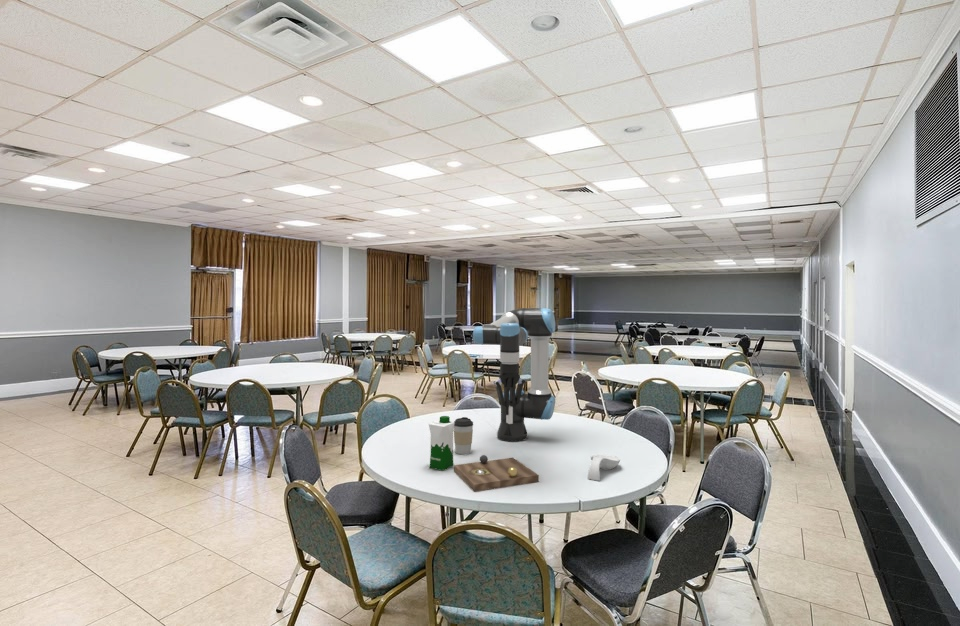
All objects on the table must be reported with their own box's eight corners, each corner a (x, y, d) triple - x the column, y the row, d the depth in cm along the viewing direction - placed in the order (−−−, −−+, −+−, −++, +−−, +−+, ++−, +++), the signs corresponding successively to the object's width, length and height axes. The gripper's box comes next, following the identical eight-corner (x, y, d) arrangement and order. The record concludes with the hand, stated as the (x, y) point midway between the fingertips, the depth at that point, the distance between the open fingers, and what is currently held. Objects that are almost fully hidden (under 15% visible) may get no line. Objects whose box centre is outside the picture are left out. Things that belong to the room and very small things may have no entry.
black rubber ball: (485, 461, 195) (485, 453, 195) (488, 463, 192) (489, 455, 192) (478, 462, 194) (478, 454, 194) (481, 464, 191) (481, 456, 191)
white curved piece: (594, 460, 205) (594, 444, 205) (622, 465, 199) (622, 448, 199) (579, 478, 184) (579, 460, 184) (609, 484, 178) (610, 465, 178)
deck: (512, 463, 200) (512, 457, 200) (538, 481, 180) (538, 475, 180) (453, 471, 190) (453, 465, 190) (474, 491, 170) (474, 484, 170)
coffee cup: (470, 455, 210) (470, 421, 209) (450, 454, 211) (450, 420, 211) (475, 449, 218) (475, 417, 218) (455, 448, 220) (456, 416, 220)
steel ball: (478, 470, 185) (473, 476, 183) (480, 466, 183) (475, 472, 181) (484, 475, 184) (480, 481, 182) (487, 472, 182) (482, 478, 180)
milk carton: (456, 465, 197) (456, 417, 197) (443, 472, 189) (443, 421, 189) (439, 461, 202) (439, 414, 201) (426, 468, 194) (426, 418, 193)
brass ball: (514, 474, 180) (514, 465, 180) (518, 477, 177) (519, 468, 177) (505, 475, 179) (506, 466, 178) (510, 479, 175) (510, 469, 175)
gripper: (520, 360, 192) (519, 419, 193) (490, 362, 187) (490, 422, 188) (529, 363, 185) (528, 423, 186) (498, 364, 180) (498, 426, 181)
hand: (509, 422), depth 187 cm, fingers closed
